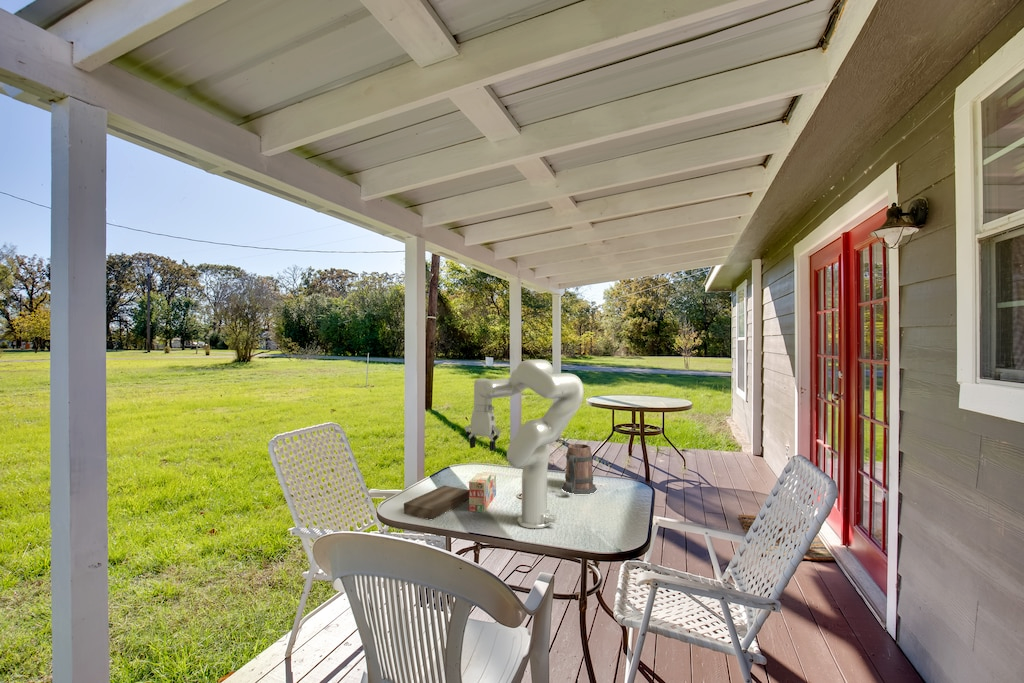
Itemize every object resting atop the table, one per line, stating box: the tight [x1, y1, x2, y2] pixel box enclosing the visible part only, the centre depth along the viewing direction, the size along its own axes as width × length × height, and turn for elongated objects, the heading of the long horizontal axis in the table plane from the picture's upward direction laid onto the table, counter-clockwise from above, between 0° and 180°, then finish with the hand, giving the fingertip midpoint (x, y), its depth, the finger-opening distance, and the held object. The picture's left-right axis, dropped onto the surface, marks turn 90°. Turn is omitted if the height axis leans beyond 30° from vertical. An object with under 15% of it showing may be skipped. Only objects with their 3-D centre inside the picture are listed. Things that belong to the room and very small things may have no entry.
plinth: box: [403, 485, 469, 520], centre depth 189 cm, size 14×26×4 cm, turn 151°
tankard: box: [561, 443, 598, 494], centre depth 209 cm, size 24×17×20 cm
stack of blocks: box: [468, 472, 497, 514], centre depth 193 cm, size 21×6×12 cm, turn 169°
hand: (482, 448), depth 193 cm, fingers open, 9 cm apart
